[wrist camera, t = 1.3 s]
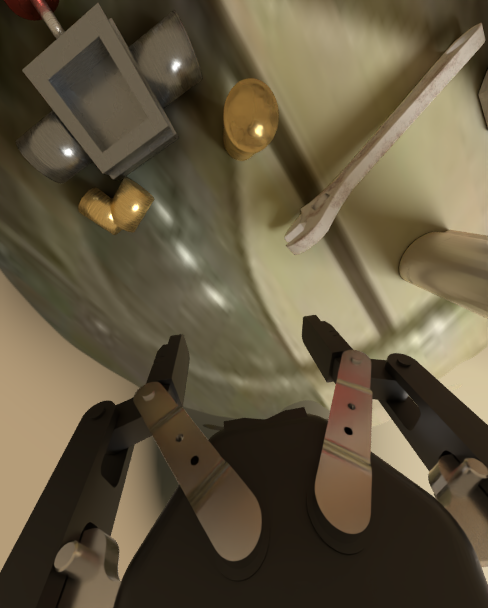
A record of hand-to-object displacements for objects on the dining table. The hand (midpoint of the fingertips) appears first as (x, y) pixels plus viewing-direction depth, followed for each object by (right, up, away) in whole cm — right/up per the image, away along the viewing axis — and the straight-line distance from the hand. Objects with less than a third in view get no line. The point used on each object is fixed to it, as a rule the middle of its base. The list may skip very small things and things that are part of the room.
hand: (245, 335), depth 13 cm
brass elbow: (-13, +13, +12) cm, 22 cm away
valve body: (-15, +24, +8) cm, 30 cm away
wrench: (+15, +22, +14) cm, 30 cm away
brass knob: (0, +22, +11) cm, 25 cm away
